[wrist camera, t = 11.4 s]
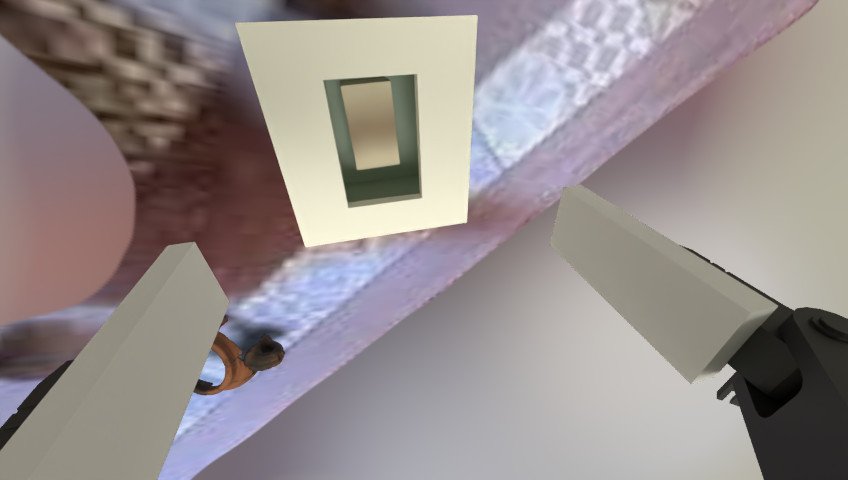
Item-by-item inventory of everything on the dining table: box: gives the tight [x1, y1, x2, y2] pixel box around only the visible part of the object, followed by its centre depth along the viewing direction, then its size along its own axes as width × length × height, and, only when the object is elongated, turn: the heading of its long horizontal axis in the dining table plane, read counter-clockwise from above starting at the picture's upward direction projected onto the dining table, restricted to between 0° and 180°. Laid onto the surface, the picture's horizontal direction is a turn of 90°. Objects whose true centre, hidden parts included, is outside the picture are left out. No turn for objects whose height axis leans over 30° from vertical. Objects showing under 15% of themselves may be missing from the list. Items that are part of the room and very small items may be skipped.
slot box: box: [235, 15, 478, 247], centre depth 26 cm, size 15×14×10 cm
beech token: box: [340, 76, 400, 170], centre depth 28 cm, size 7×4×4 cm, turn 4°
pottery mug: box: [193, 318, 285, 395], centre depth 39 cm, size 12×9×8 cm
